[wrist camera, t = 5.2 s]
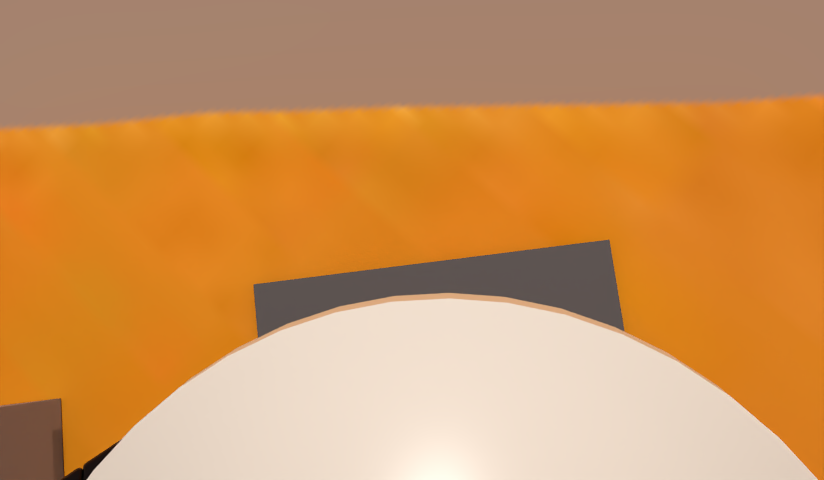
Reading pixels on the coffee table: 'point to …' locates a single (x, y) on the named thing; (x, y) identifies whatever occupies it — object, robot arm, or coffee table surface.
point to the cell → (449, 404)
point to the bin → (31, 441)
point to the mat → (460, 284)
